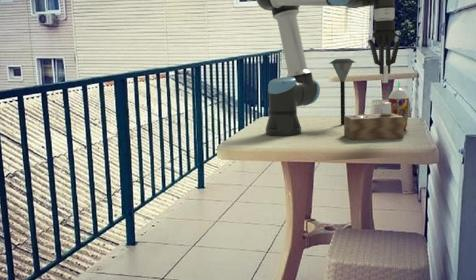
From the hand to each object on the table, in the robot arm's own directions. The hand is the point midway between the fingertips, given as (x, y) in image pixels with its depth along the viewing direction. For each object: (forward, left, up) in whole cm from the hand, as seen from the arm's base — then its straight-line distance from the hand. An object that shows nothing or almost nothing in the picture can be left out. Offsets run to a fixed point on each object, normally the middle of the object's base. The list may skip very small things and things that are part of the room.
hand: (385, 82), depth 204 cm
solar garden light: (-7, +37, -21) cm, 44 cm away
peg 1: (-9, 0, -21) cm, 23 cm away
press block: (-4, 0, -21) cm, 21 cm away
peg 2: (+1, 0, -16) cm, 16 cm away
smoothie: (+11, +14, -21) cm, 28 cm away
